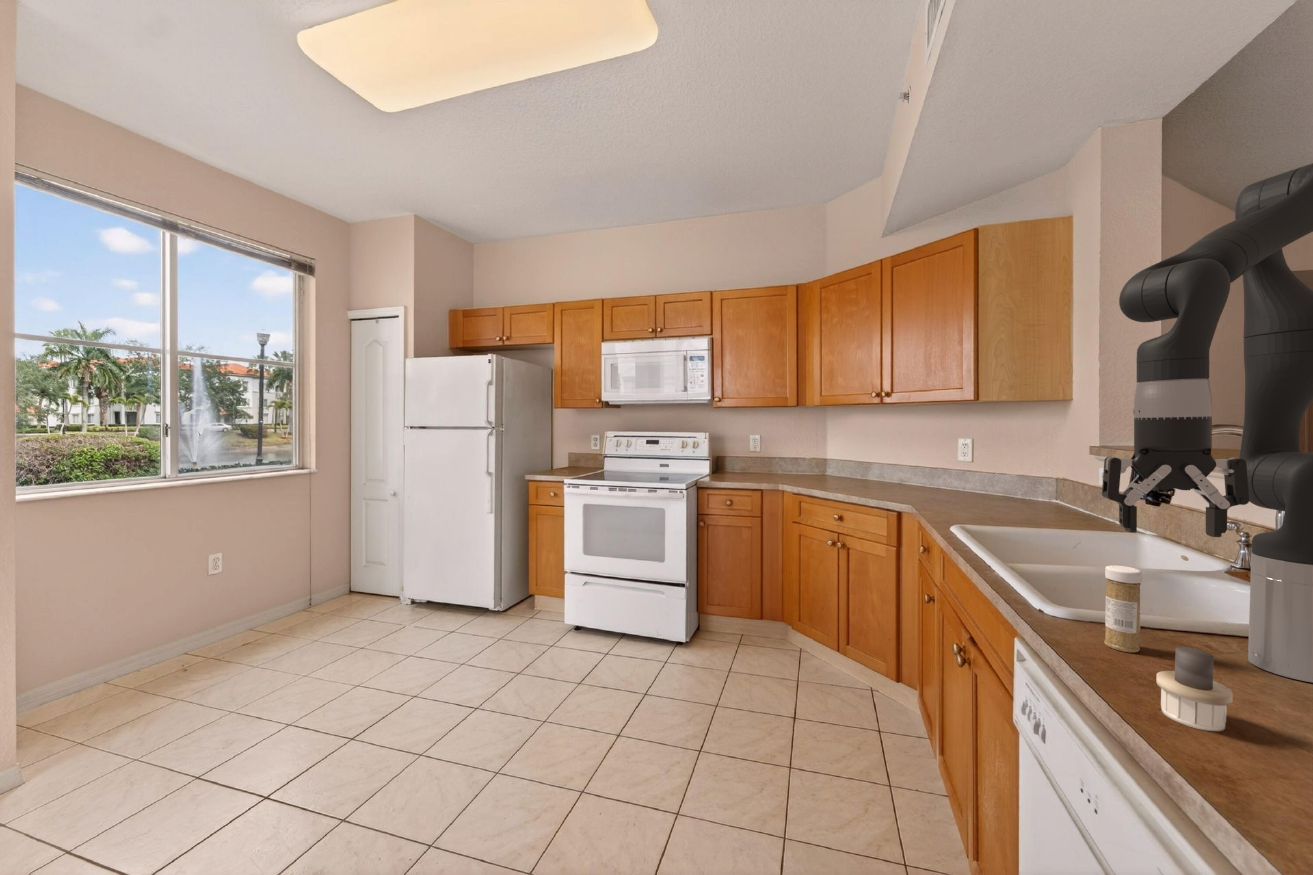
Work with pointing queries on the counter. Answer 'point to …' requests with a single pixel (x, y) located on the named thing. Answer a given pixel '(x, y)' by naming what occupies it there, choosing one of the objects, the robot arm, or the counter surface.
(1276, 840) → the counter surface
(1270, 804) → the counter surface
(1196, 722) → the bowl
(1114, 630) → the sprinkles bottle
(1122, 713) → the counter surface
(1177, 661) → the lid
